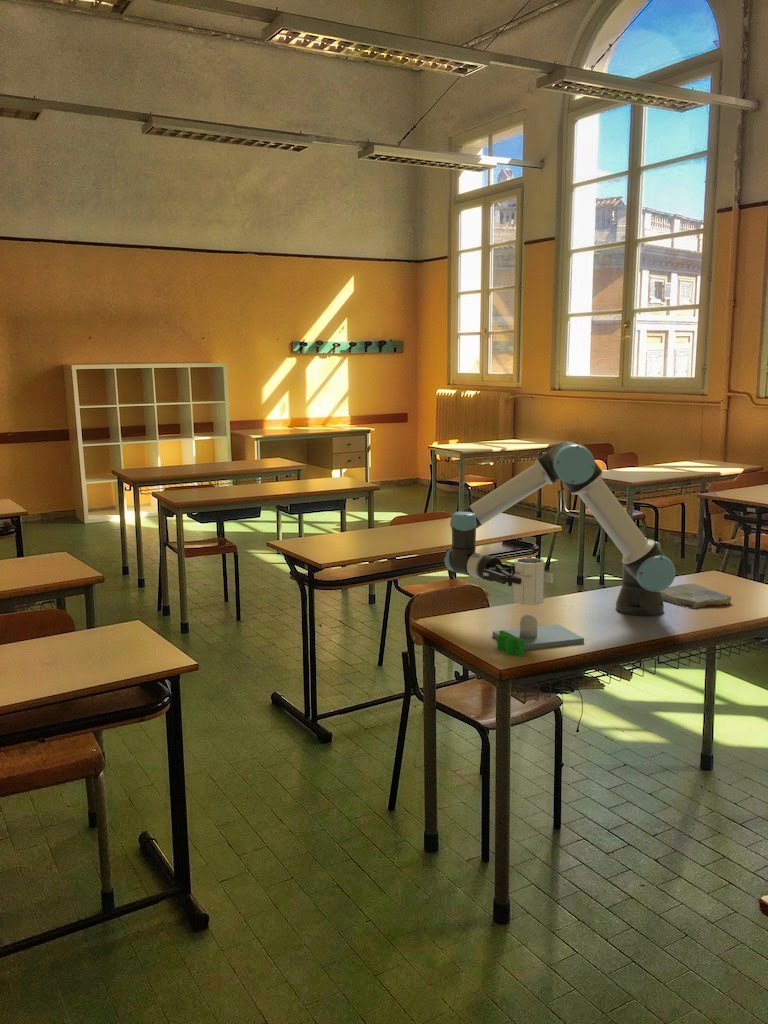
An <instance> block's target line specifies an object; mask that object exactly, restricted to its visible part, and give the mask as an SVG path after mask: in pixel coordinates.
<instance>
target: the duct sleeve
mask: <svg viewBox="0 0 768 1024" xmlns="http://www.w3.org/2000/svg"><path fill="white" fill-rule="evenodd" d="M514 564H515V574H516V575H520V576H525V577H529V578H532V588H528V587H524V586H520V585H516V584H513V585H514V586H513V587H514V591H513V592H514V593H513V594H514V595H513V596H514V597H513V600H514V601H513V602H514V603H515V604H519V605H524V606H525V605H527V606H538V605H540V604H543V603H544V572H545V560H544V559H541V558H537V557H519V558H515V559H514Z"/></svg>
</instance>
